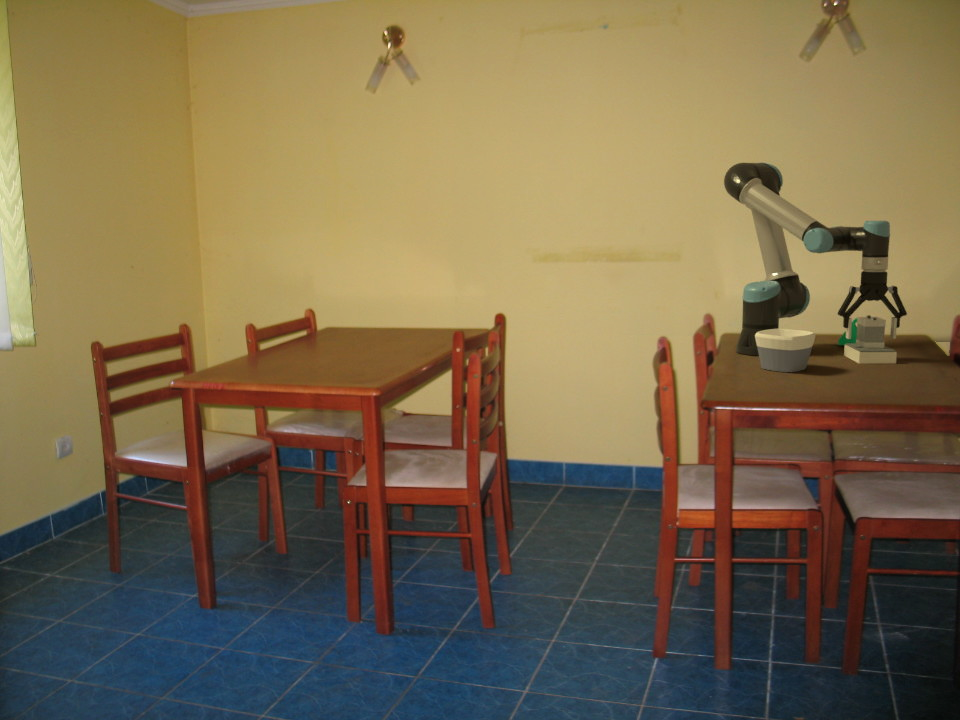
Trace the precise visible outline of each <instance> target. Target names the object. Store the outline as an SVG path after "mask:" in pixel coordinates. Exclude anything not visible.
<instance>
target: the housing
mask: <svg viewBox="0 0 960 720" xmlns="http://www.w3.org/2000/svg"><path fill="white" fill-rule="evenodd" d="M856 318H857V323H856V324H857V325H856V326H857V339H856V345H857V346H859V347H861V348H863V349H884V346H885V332H886V331H885V330H886V322H887V320H886V319H884V318H882V317H879V316H872V315H866V316H857V317H856Z"/></svg>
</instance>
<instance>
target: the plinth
mask: <svg viewBox="0 0 960 720" xmlns="http://www.w3.org/2000/svg"><path fill="white" fill-rule="evenodd" d="M843 351H844V353H843V356H844V357H847V358H848V359H850V360H852V361H854V362H855V363H857V364H859V365H860V364H861V365H862V364H864V365H865V364H869V365H871V364H873V365H875V364H876V365H877V364H879V365H880V364H881V365H884V364H887V365H888V364H897V351H896V350H895V349H893V348H891V347H888V346H886V345H884V349H863V348H861V347H859V346H857V345H856V343H846V345H844V349H843Z"/></svg>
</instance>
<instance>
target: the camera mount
mask: <svg viewBox="0 0 960 720" xmlns="http://www.w3.org/2000/svg"><path fill="white" fill-rule="evenodd" d="M856 324H857V317H856V318H854V319H852V326H851V339H847V338H846V330H845V331H844V332H843V333H842V334H841V336H840V337H839V339H838V345H839V346H845V345H846V343H856V339H857V325H856ZM838 345H837V346H838Z"/></svg>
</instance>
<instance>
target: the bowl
mask: <svg viewBox="0 0 960 720" xmlns="http://www.w3.org/2000/svg"><path fill="white" fill-rule="evenodd" d="M815 338H816V333H815V332H814V331H813V332H812V331H808V330H801V329H790V328H779V329H770V330H763V331H759V332H757V333H756V334H755V339H756V344H757V348H758V353H759V356H758V357H759V362H760V367H761V369H763V370H765V369H766V371H770V370H771V371H772V372H777V371H778V373H787V372H790V373H795V372H801V370H802V371H804V370H806V369H807V366H808V362H809V360H810V356H811V352H812V349H813V347H814V346H813V345H814V342H815V340H816V339H815ZM771 371H770V372H771Z"/></svg>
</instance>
